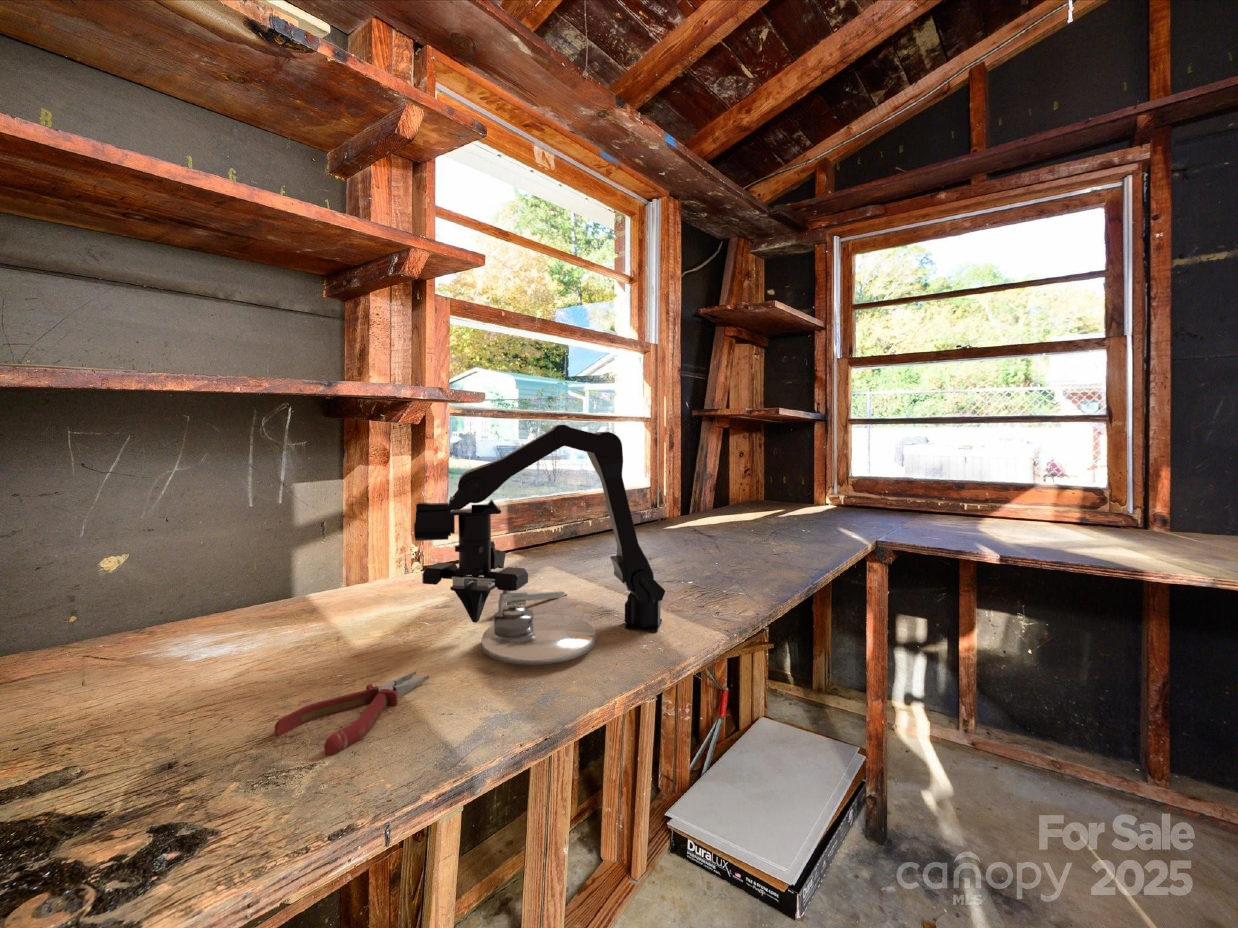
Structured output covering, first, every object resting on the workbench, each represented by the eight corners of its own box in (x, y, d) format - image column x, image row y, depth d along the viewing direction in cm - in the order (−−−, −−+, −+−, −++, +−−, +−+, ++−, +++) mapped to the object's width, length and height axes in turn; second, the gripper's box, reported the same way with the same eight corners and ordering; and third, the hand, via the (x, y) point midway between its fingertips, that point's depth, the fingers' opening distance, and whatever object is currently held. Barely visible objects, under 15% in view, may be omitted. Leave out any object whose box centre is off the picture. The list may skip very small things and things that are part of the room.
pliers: (450, 689, 82) (450, 672, 82) (332, 762, 64) (331, 740, 64) (395, 675, 87) (395, 659, 87) (270, 739, 69) (269, 719, 69)
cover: (539, 625, 101) (539, 603, 100) (523, 639, 94) (523, 615, 94) (504, 622, 102) (504, 600, 102) (487, 635, 96) (486, 612, 95)
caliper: (501, 619, 112) (501, 590, 112) (498, 618, 113) (498, 589, 113) (567, 596, 129) (567, 570, 128) (564, 595, 129) (564, 569, 129)
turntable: (607, 626, 104) (607, 619, 104) (575, 670, 85) (575, 662, 85) (511, 617, 109) (511, 610, 109) (460, 657, 90) (460, 648, 90)
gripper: (539, 532, 105) (539, 611, 106) (452, 528, 109) (453, 604, 110) (514, 544, 94) (515, 632, 95) (419, 538, 98) (421, 622, 99)
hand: (475, 621), depth 100 cm, fingers closed
